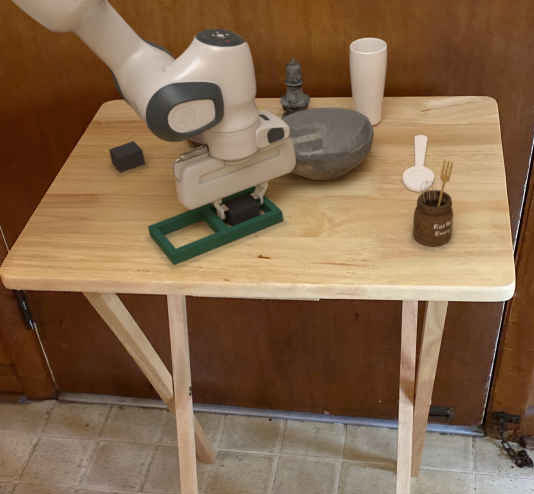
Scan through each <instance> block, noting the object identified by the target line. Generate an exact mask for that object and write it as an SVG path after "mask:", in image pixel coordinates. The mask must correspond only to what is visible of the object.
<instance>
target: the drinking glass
mask: <svg viewBox="0 0 534 494" xmlns="http://www.w3.org/2000/svg"><path fill="white" fill-rule="evenodd" d="M348 56H349V57H348V60H349V76H350V87H351V96H352V98H351V99H352V108H353V109H352V110H354V111H357V112H359V113H361V114H363V115H365V116H366V117H368V119H369V121H370V122H371V125H372V127H373V126H376V125H379V124H380V122H381V121H382V118H383V105H384V95H385V85H386V77H387V69H388V45H387V43H386V41H385V40H383V39H381V38H376V37H363V38H359V39H356V40H353V41H352V42H351V43H350V44H349V55H348Z"/></svg>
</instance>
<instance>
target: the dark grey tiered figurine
mask: <svg viewBox="0 0 534 494" xmlns="http://www.w3.org/2000/svg"><path fill="white" fill-rule="evenodd" d="M303 83H304V78H302V65H301V64H300V63H299V62H298V61H295V59H294V58H293V57H292V58H291V59H290V61H289V62H287V64H286V65H285V80H284V84H285V86H286V87H285V88H286V93H285V94H284V95H282V96H281V97H280V99H279V103H280V105H281V106H282V109H283V111H284V113H283V114H282V118H284V117H286V116H288V115H290V114H293V113H296V112H299V111H303V110H307V109H309V108H308V107H309V105H310V102H311V97H310V95H309V94H307V93H305V92H304V91H303Z"/></svg>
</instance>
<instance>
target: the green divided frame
mask: <svg viewBox="0 0 534 494" xmlns="http://www.w3.org/2000/svg"><path fill="white" fill-rule="evenodd" d="M255 188H256V186H253V187H250V188H248V189H245V190H243V191H240V192H237V193H235V194H232V195H229V196H227V197H224V198H222V199H221V200H222V203H223V202H225V201H228V200H231V199H233V198H236V197H238V196H241V195H244V194H246V193H248V194H249V195H250V194H251V193H254V191H255ZM219 205H221V204H219ZM259 209H260V210H262V211H263V212H264V213H262V214H260V216H257V217H254V218H252V219H249V220H247V221H244V222H242V223H239V224H237V225H234V226H232V227H231V226H229V225H227V223H225V222H224V220H221V219H220V218H219V217H218V215H217V209H216V207H215V206H214V205H213V204H212V203H209V204H206V205H203V206H201V207H198V208H195V209H193V210H189V209H188V210H187V211H184V212H182V213H178V214H176V215H173V216H171V217H169V218H166V219H163V220H161V221H157V222H155V223H152V224H150V225H148V226H147V228H148V233H149V237H150V238H151V239H152V240H153V241H154V243H155V244H156V245H157V246H158V247H159V249H160V250H161V251H162V252H163V253H164V255H165V256H166V257H167V258H168V260H169V261H170V262H171V264H173V265H174V266H176V265H177V264H180V263H183V262H185V261H187V260H189V259H192V258H195V257H198V256H200V255H203V254H205V253H207V252H209V251H212V250H215V249H217V248H220V247H222V246H224V245H228V244H230V243H232V242H235V241H237V240H240V239H243V238H245V237H247V236H249V235H252V234H255V233H257V232H259V231H262V230H265V229H268V228H269V227H271V226H275V225H277V224H279V223H283V221H284V218H283V210H282V209H281V208H280V207H278V206H277V205H276V204H275V203H274V202H273V201H272V200H271V199H270V198H268V197H267V196H266V195H265V194H264V196H263V204H262V205H259ZM201 221H203V222H204V223H205V224H206V225H207V226H208V228H210V229H211V230H212V231H213V232H214V233H211V234H209V235H206V236H204V237H202V238H199V239H197V240H194V241H191V242H189V243H187V244H183V245H181V246H179V247H175V245H173V244H172V242H171V241H170V240H169V239H168V238H167V236H165V235H168V234H171V233H173V232H176V231H178V230H181V229H183V228H186V227H189V226H191V225H194V224H196V223H199V222H201Z"/></svg>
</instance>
